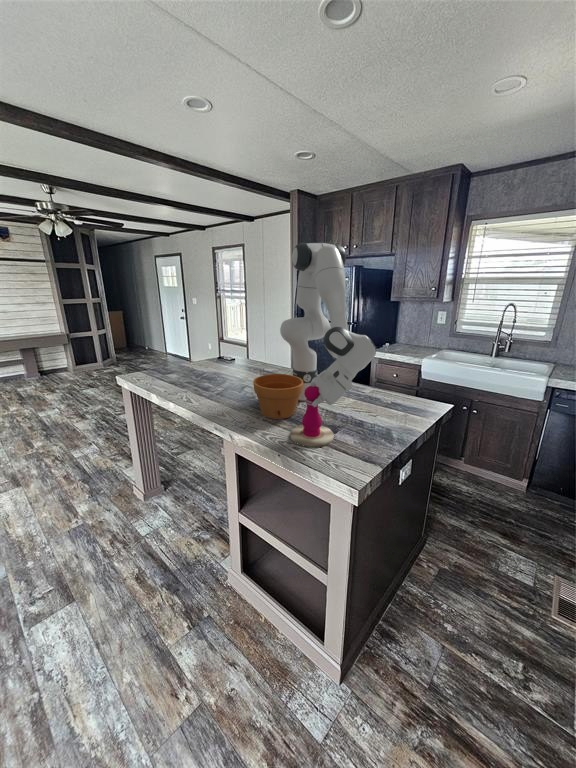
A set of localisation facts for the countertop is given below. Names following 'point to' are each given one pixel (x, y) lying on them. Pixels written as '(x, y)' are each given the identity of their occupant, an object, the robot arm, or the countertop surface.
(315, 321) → the robot arm
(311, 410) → the pepper mill
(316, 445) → the disc
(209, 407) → the countertop surface
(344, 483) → the countertop surface
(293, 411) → the flower pot
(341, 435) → the countertop surface
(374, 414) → the countertop surface
